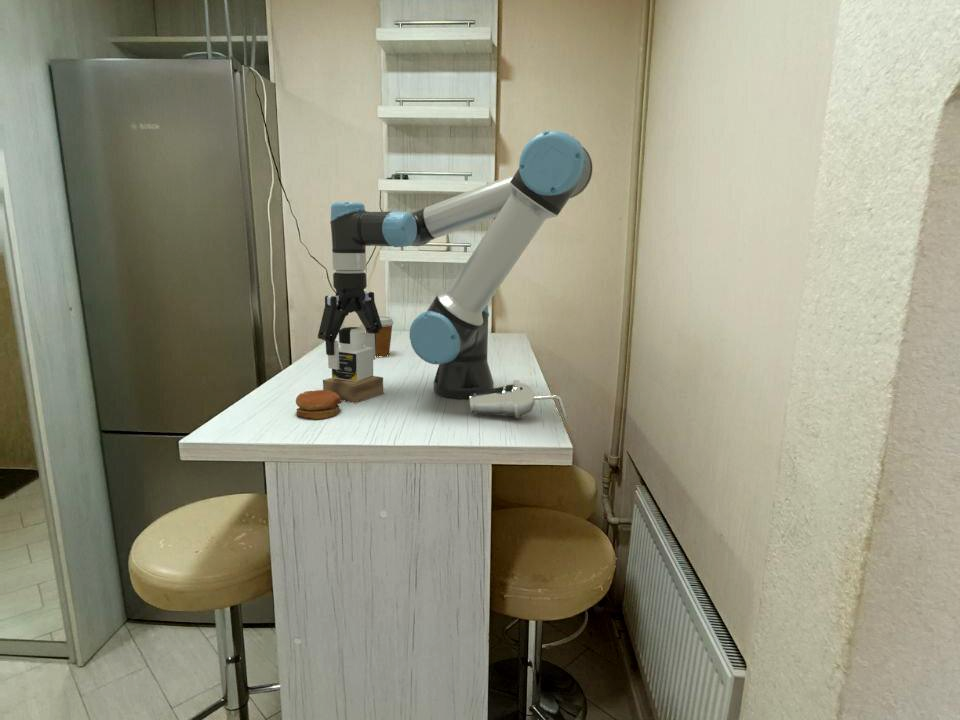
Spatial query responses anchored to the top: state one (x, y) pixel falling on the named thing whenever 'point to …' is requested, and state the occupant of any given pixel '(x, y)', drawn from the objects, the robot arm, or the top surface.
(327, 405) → the burger
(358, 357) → the medicine bottle
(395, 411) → the top surface
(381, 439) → the top surface
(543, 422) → the top surface
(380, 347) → the disposable coffee cup
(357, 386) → the plinth
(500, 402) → the cup with straw
